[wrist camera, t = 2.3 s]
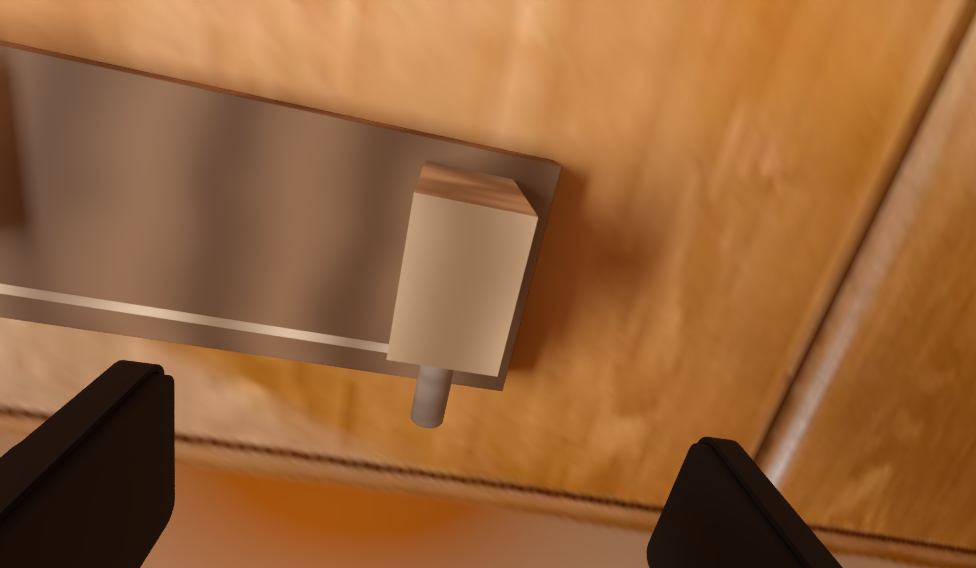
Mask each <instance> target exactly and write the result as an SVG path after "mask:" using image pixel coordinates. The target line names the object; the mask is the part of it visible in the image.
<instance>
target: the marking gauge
mask: <svg viewBox="0 0 976 568" xmlns="http://www.w3.org/2000/svg"><path fill="white" fill-rule="evenodd" d="M537 221H538V216H537V214H536V213H535V211H534V210H533V208H532V207H531V205H530V204H529V202H528V201H527V199H526V198H525V196H524V195H523V193H522V192H521V190H520V189H519V187H518V186H517V184H516V183H515V181H514V180H513V179H508V178H504V177H499V176H494V175H489V174H485V173H480V172H475V171H470V170H465V169H461V168H456V167H451V166H446V165H442V164H437V163H432V162H427V161H425V163H424V165H423V168H422V171H421V174H420V177H419V179H418V182H417V185H416V188H415V190H414V194H413V200H412V207H411V213H410V219H409V225H408V231H407V237H406V243H405V249H404V255H403V261H402V267H401V274H400V280H399V286H398V292H397V298H396V304H395V310H394V316H393V322H392V328H391V335H390V341H389V347H388V353H387V359H386V360H391V361H397V362H404V363H410V364H417V365H420V370H419V375H418V380H417V385H416V390H415V396H414V401H413V406H412V411H411V419H412V421H413V422H414V423H415V424H416V425H418V426H421V427H424V428H435V427H438V426H440V425H441V424H442V422H443V418H444V414H445V409H446V404H447V400H448V395H449V391H450V386H451V382H452V377H453V373H454V370H457V371H463V372H470V373H476V374H483V375H490V376H496V377H497V376H498V372H499V369H500V365H501V361H502V357H503V353H504V349H505V345H506V341H507V337H508V334H509V330H510V326H511V322H512V318H513V314H514V310H515V306H516V302H517V298H518V295H519V291H520V287H521V283H522V279H523V275H524V271H525V267H526V263H527V260H528V256H529V252H530V248H531V244H532V240H533V236H534V232H535V228H536V225H537Z"/></svg>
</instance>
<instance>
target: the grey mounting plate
mask: <svg viewBox="0 0 976 568" xmlns="http://www.w3.org/2000/svg"><path fill="white" fill-rule="evenodd" d="M425 161H427V162H432V163H437V164H442V165H446V166H451V167H456V168H461V169H465V170H470V171H475V172H480V173H485V174H489V175H494V176H499V177H504V178H508V179H513V180H514V181H515V183H516V184H517V186H518V187H519V189H520V190H521V192H522V193H523V195H524V196H525V198H526V199H527V201H528V202H529V204H530V205H531V207H532V208H533V210H534V211H535V213H536V214H537V216H538V221H537V225H536V228H535V232H534V236H533V240H532V244H531V248H530V252H529V256H528V260H527V263H526V267H525V271H524V275H523V279H522V283H521V287H520V291H519V295H518V298H517V302H516V306H515V310H514V314H513V318H512V322H511V326H510V330H509V334H508V337H507V341H506V345H505V349H504V353H503V357H502V361H501V365H500V369H499V372H498V376H497V377H496V376H490V375H483V374H476V373H470V372H463V371H457V370H454V373H453V377H452V382H451V384H457V385H463V386H470V387H477V388H484V389H490V390H497V391H502V390H503V387H504V383H505V379H506V375H507V371H508V368H509V364H510V360H511V356H512V353H513V349H514V345H515V341H516V337H517V334H518V330H519V326H520V322H521V318H522V315H523V311H524V307H525V303H526V299H527V296H528V292H529V288H530V284H531V281H532V277H533V273H534V269H535V265H536V262H537V258H538V254H539V250H540V246H541V243H542V239H543V235H544V231H545V227H546V224H547V220H548V216H549V212H550V209H551V205H552V201H553V197H554V193H555V190H556V186H557V182H558V178H559V174H560V171H561V167H562V166H560V165H559V164H557V163H556V162H555V161H553V160H549V159H544V158H540V157H535V156H530V155H526V154H521V153H517V152H512V151H507V150H503V149H498V148H494V147H489V146H484V145H480V144H475V143H470V142H466V141H461V140H457V139H452V138H447V137H443V136H438V135H434V134H429V133H424V132H420V131H415V130H411V129H406V128H401V127H397V126H392V125H388V124H383V123H378V122H374V121H369V120H365V119H360V118H355V117H351V116H346V115H341V114H337V113H332V112H328V111H323V110H318V109H314V108H309V107H305V106H300V105H295V104H291V103H286V102H282V101H277V100H272V99H268V98H263V97H259V96H254V95H249V94H245V93H240V92H236V91H231V90H226V89H222V88H217V87H213V86H208V85H203V84H199V83H194V82H189V81H185V80H180V79H176V78H171V77H166V76H162V75H157V74H153V73H148V72H143V71H139V70H134V69H130V68H125V67H120V66H116V65H111V64H107V63H102V62H97V61H93V60H88V59H84V58H79V57H74V56H70V55H65V54H60V53H56V52H51V51H47V50H42V49H37V48H33V47H28V46H24V45H19V44H14V43H10V42H5V41H1V40H0V317H3V318H9V319H16V320H23V321H30V322H36V323H43V324H50V325H57V326H64V327H70V328H77V329H84V330H91V331H97V332H104V333H111V334H118V335H124V336H131V337H138V338H145V339H152V340H158V341H165V342H172V343H179V344H185V345H192V346H199V347H206V348H213V349H219V350H226V351H233V352H240V353H246V354H253V355H260V356H267V357H274V358H280V359H287V360H294V361H301V362H307V363H314V364H321V365H328V366H335V367H341V368H348V369H355V370H362V371H368V372H375V373H382V374H389V375H396V376H402V377H409V378H416V379H418V375H419V370H420V365H417V364H410V363H404V362H397V361H391V360H386V359H387V353H388V347H389V341H390V335H391V328H392V322H393V316H394V310H395V304H396V298H397V292H398V286H399V280H400V274H401V267H402V261H403V255H404V249H405V243H406V237H407V231H408V225H409V219H410V213H411V207H412V200H413V194H414V190H415V188H416V185H417V182H418V179H419V177H420V174H421V171H422V168H423V165H424V163H425Z"/></svg>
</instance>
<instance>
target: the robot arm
mask: <svg viewBox="0 0 976 568" xmlns="http://www.w3.org/2000/svg"><path fill="white" fill-rule="evenodd" d="M174 475H175V447H174V379H173V377H172V376H170V375H164V370H163V368H162V366H160V365H157V364H149V363H142V362H134V361H126V360H120V361H118V362H116V363H114V364H113V365H112V366H111V367H110V368H108V369H107V370H106V371H105V372H104V373H102V374H101V375H100V376H99V377H98V378H96V379H95V380H94V381H93V382H92V383H91V384H89V385H88V386H87V387H86V388H85V389H83V390H82V391H81V392H80V393H79V394H77V395H76V396H75V397H74V398H73V399H71V400H70V401H69V402H68V403H67V404H66V405H64V406H63V407H62V408H61V409H60V410H58V411H57V412H56V413H55V414H54V415H52V416H51V417H50V418H49V419H48V420H46V421H45V422H44V423H43V424H42V425H41V426H39V427H38V428H37V429H36V430H35V431H33V432H32V433H31V434H30V435H29V436H27V437H26V438H25V439H24V440H23V441H21V442H20V443H18V444H17V445H15V446H14V447H12V448H11V449H10V450H9V451H8V452H7V453H5V454H4V455H3V456H2V457H0V568H140V567H141V565H142V564H143V562H144V561H145V559H146V557H147V556H148V554H149V553H150V551H151V549H152V548H153V546H154V544H155V543H156V541H157V540H158V538H159V536H160V535H161V533H162V532H163V530H164V529H165V527H166V525H167V523H168V522H169V519H170V517H171V514H172V511H173V507H174V500H175V489H174V488H175V484H174V483H175V476H174ZM647 561H648V565H649V567H650V568H842V566H841V565H840V564H839V563H838V562H837V560H836V559H835V558H834V557H833V556H832V554H831V553H830V552H829V551H828V550H827V548H826V547H825V546H824V545H823V544H822V543H821V541H820V540H819V539H818V538H817V537H816V535H815V534H814V533H813V532H812V531H811V529H810V528H809V527H808V526H807V525H806V523H805V522H804V521H803V520H802V519H801V517H800V516H799V515H798V514H797V513H796V511H795V510H794V509H793V508H792V507H791V505H790V504H789V503H788V502H787V501H786V500H785V498H784V497H783V496H782V495H781V494H780V492H779V491H778V490H777V489H776V488H775V486H774V485H773V484H772V483H771V482H770V480H769V479H768V478H767V477H766V476H765V474H764V473H763V472H762V471H761V470H760V468H759V467H758V466H757V465H756V464H755V462H754V461H753V460H752V459H751V458H750V456H749V455H748V454H747V453H746V452H745V451H744V449H743V448H742V447H741V446H740V445H739V444H738V443H737V442H736V441H733V440H728V439H720V438H712V437H703V438H701V439H700V440H699V441H698V443H695V444H693V445H692V446H691V447H690V449H689V451H688V453H687V455H686V458H685V460H684V462H683V465H682V467H681V469H680V472H679V474H678V476H677V479H676V481H675V483H674V485H673V488H672V490H671V492H670V495H669V497H668V499H667V502H666V504H665V506H664V509H663V511H662V513H661V516H660V518H659V520H658V522H657V525H656V527H655V529H654V532H653V534H652V536H651V539H650V541H649V543H648V547H647Z"/></svg>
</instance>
